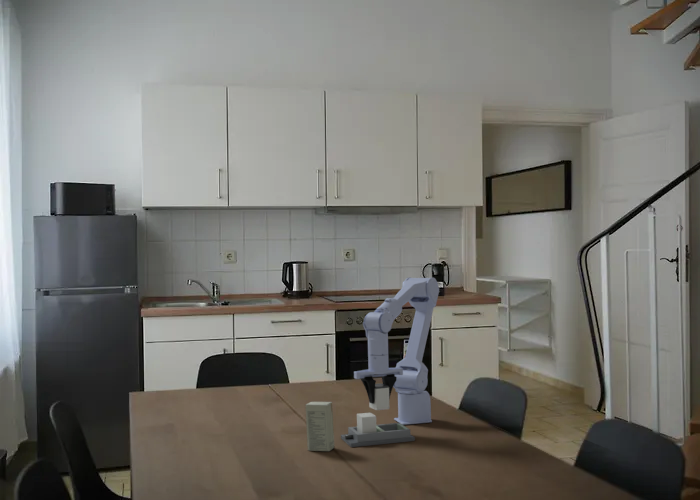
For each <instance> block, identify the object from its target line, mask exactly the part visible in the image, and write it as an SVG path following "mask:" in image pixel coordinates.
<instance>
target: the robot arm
mask: <svg viewBox="0 0 700 500" xmlns="http://www.w3.org/2000/svg"><path fill="white" fill-rule="evenodd" d="M439 293H440V287H439V283H438V281H437V279H436V278H435V277H406V278H405V279H404V280H403V281H402V286H401V289H400V290H398V292H397V293H396V295H394V296H393V297H387V298H385V299H384V301H383V302H382V303H381V304H380V305H379V306H378V307H377V308H376V309H375V310H374V311H370V312H367V314H366V315H365V316H364V318H363V322H362V326H363V329H364V331H365V337H366V338H367V357H368V358H367V359H368V360H367V361H368V364H367V365H368V369H362V370H357V371H353V378H354V379H355V380H361V381H360V382H361V383H362V385H363V387H364V389H365V390H366V394H367V397H368V403H369V402H370V403H372V404H374V402H375V384H377V383H376V382H377V380H375V379H374V378H377V377H378V378H381V380H382V384H384V385H387V386H389V401H390V399H391V395H392V394H391V393H392V391H393V388H394V389H395V392H396V393H397V410H398V411H397V413H398V414H397V417H394V418H393V420H394V421H396V423H401V424H402V425H404V426H405V425H415V424H426V423H432V422H433V420H432V410H431V409H432V407H431V396H430V393H429V392H428V391H427V390H426V388H427V386H428V373H429V369H428V367H427V366H426V365H425V363H424V362H423V357H424V353H425V348H426V344H427V341H428V340H427V339H428V335H429V330H430V327H431V323H432V317H433V312H434V308H435V307H436V306H437V302H438V299H439V298H438V297H439ZM407 303H409V304H410V306H411V307H413V308H414V309H415V313H414V316H413V320H412V327H411V329H410V334H409V338H408V342H407V348H406V352H405V356H404V358H403V359H401V360H400V361H398V362H397V363H396V366H395V367H389V337H388V336H389V334H388V333H389V332H390V331H391V330H392V326H393V324H394V322H395V321H394V320H396V318H397V317H399V316H400V314H401V313H402V311H403V306H404V305H406V304H407Z"/></svg>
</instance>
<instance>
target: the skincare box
mask: <svg viewBox="0 0 700 500" xmlns="http://www.w3.org/2000/svg"><path fill="white" fill-rule="evenodd" d="M304 406H305V423H306V441H307V451H309V452H310V451H312V452H314V451H315V452H330V451H332V450H333V449H334V448H335V431H334V414H333V413H334V411H333V402H332V401H310V402H308V403H306V404H304Z"/></svg>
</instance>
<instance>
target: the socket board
mask: <svg viewBox="0 0 700 500" xmlns="http://www.w3.org/2000/svg"><path fill="white" fill-rule="evenodd" d="M347 430H348V431H347V433H346V434H340V439H341V440H342V442H344V443H346V445H348V446H349V447H350V448H356V447H367V446H377V445H385V444H386V445H387V444H395V443H407V442H415V441H416V437H415V436H413V434H411V429H410V428H409V427H407V426H405V425H402V424H401V423H399V422H392V423H382V424H381V423H380V424H377V415H375V414H374V413H372V412H364V413H363V412H362V413H356V426H348V427H347Z"/></svg>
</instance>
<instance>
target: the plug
mask: <svg viewBox="0 0 700 500" xmlns="http://www.w3.org/2000/svg"><path fill="white" fill-rule="evenodd" d="M368 404H369V405H368V407H369V409H373V410H375V411H383V410H390V400H389V386H387V385H384V384H383V382H382V383H375V402H374V404H372V403H370V402H369V401H368Z"/></svg>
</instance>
